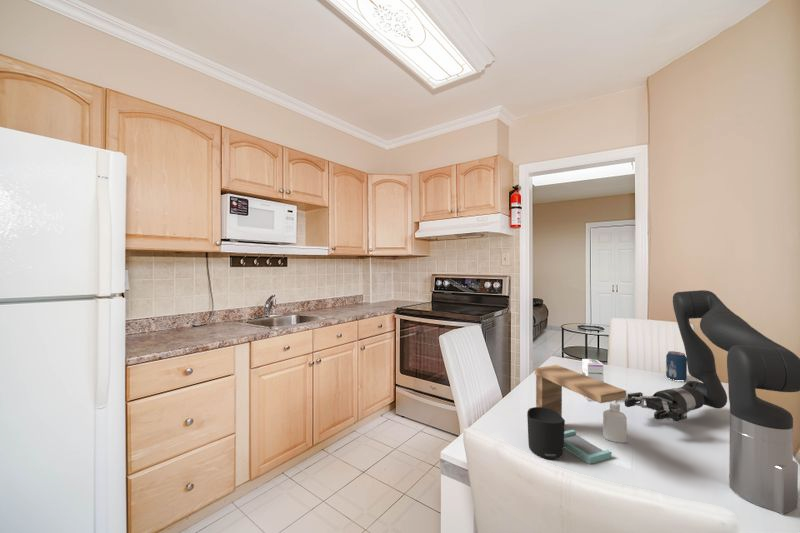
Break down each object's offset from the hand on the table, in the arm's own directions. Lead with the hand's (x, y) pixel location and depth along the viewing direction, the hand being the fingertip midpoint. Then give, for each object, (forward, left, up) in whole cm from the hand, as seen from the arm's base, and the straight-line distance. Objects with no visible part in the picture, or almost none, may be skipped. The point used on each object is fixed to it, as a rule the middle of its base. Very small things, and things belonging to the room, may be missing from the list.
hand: (640, 409), depth 96 cm
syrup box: (+23, -9, -7) cm, 26 cm away
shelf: (+2, +24, -7) cm, 25 cm away
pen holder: (+2, +35, -7) cm, 36 cm away
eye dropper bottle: (0, +11, -7) cm, 13 cm away
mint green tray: (0, +24, -7) cm, 25 cm away
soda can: (+25, -63, -7) cm, 68 cm away
